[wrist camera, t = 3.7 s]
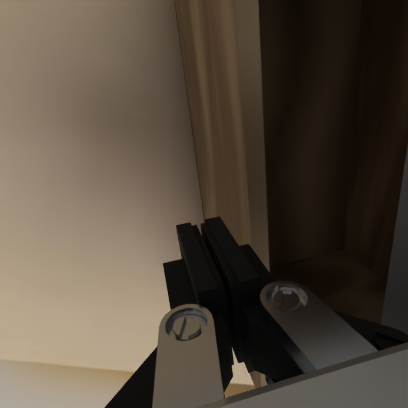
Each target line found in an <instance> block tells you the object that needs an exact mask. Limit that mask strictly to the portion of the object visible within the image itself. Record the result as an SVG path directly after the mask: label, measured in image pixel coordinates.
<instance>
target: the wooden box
mask: <svg viewBox="0 0 408 408" xmlns="http://www.w3.org/2000/svg"><path fill="white" fill-rule="evenodd" d="M174 1H175V8H176V16H177V23H178V30H179V38H180V45H181V52H182V60H183V67H184V74H185V82H186V89H187V96H188V104H189V111H190V119H191V126H192V133H193V141H194V148H195V155H196V163H197V170H198V177H199V185H200V192H201V199H202V207H203V214H204V221H205V219H208V218H213V217H218V216H220V217H221V219H222V220H223V222H224V223H225V225H226V227H227V228H228V230H229V231H230V233H231V234H232V236H233V237H234V239H235V240H236V242H237V243H238V245H239V246H240V245H245V244H249V245H250V246H251V247H252V249H253V250H254V252H255V253H256V254H257V256H258V257H259V258H260V260H261V261H262V263H263V264H264V265H265V267H266V268H267V270H268V271H269V272H270V274H271V275H272V276H273V278H274V279H275V281H286V280H287V281H293V282H296V283H299V284H302V285H303V286H305V287H306V288H308V289H309V290H310V291H311V292H312V293H313V294H314V295H316V296H317V297H318V298H319V299H320V300H321V301H322V302H324V303H325V304H326V305H327V306H328V307H329V308H330V309H332V310H333V311H337V312H340V313H344V314H347V315H351V316H354V317H358V318H361V319H365V320H368V321H371V322H375V323H378V324H381V319H382V312H383V305H384V299H385V292H386V286H387V279H388V272H389V266H390V259H391V252H392V246H393V239H394V233H395V226H396V219H397V213H398V206H399V199H400V193H401V186H402V179H403V173H404V166H405V160H406V153H407V146H408V0H174ZM249 373H250V375H251V378H252V380H253V383H254V385H255V388H259V387H263V386H266V385H268V384H267V382H266V380H265V375H264V374H262V373H259V372H257V371H253V372H249Z"/></svg>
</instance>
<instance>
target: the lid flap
mask: <svg viewBox="0 0 408 408" xmlns="http://www.w3.org/2000/svg"><path fill="white" fill-rule="evenodd" d="M381 324H382V325H385V326H389V327H392V328H395V329H397V330H400V331H402V332H404V333H406V334H407V335H408V146H407V153H406V160H405V166H404V173H403V179H402V186H401V193H400V199H399V206H398V213H397V219H396V226H395V233H394V239H393V246H392V252H391V259H390V266H389V272H388V279H387V286H386V292H385V299H384V305H383V312H382V319H381Z"/></svg>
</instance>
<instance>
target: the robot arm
mask: <svg viewBox="0 0 408 408" xmlns="http://www.w3.org/2000/svg"><path fill="white" fill-rule="evenodd" d="M176 229H177V234H178V240H179V245H180V251H181V256H182V259H180V260H175V261H171V262H167V263H163V267H164V273H165V278H166V284H167V290H168V296H169V302H170V308H171V310H170V311H169V312H168V313H167V314H166V315H165V316H164V317H163V319H162V320H161V323H160V326H159V335H158V346H157V347H156V348H155V350H154V351H153V352H152V353H151V354H150V355H149V357H148V358H147V359H146V360H145V361H144V362H143V364H142V365H141V366H140V367H139V368H138V369H137V371H136V372H135V373H134V374H133V375H132V376H131V378H130V379H129V380H128V381H127V382H126V383H125V385H124V386H123V387H122V388H121V390H119V392H118V393H117V394H116V395H115V396H114V397H113V398H112V400H111V401H110V402H109V403H108V404H107V405H106V407H105V408H408V335H407V334H406V333H404V332H402V331H400V330H397V329H395V328H392V327H389V326H385V325H382V324H378V323H375V322H371V321H368V320H365V319H361V318H358V317H354V316H351V315H347V314H344V313H340V312H337V311H333V310H332V309H330V308H329V307H328V306H327V305H326V304H325V303H324V302H322V301H321V300H320V299H319V298H318V297H317V296H316V295H314V294H313V293H312V292H311V291H310V290H309V289H308V288H306V287H305V286H303V285H302V284H299V283H296V282H293V281H287V280H286V281H275V279H274V278H273V276H272V275H271V274H270V272H269V271H268V270H267V268H266V267H265V265H264V264H263V263H262V261H261V260H260V258H259V257H258V256H257V254H256V253H255V252H254V250H253V249H252V247H251V246H250V245H249V244H245V245H240V246H239V245H238V243H237V242H236V240H235V239H234V237H233V236H232V234H231V233H230V231H229V230H228V228H227V227H226V225H225V223H224V222H223V220H222V219H221V217H220V216H218V217H213V218H208V219H205V223H203V224H201V232H202V235H201V233H200V231H199V229H198V227H197V225H194V226H192V225H191V223H185V224H180V225H176ZM232 348H233V351H234V353H235V356H236V359H237V361H238V363H241V362H244V363H245V365H246V368H247V370H248V373H249V372H253V371H257V372H259V373H262V374H264V375H265V380H266V382H267V384H268V385H266V386H263V387H259V388H256V389H253V390H250V391H247V392H243V393H241V394H237V395H234V396H231V397H227V398H225V395H224V392H225V390H226V388H227V386H228V384H229V383H230V381H231V379H232V377H233V372H232V365H234V361H233V352H232Z"/></svg>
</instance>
